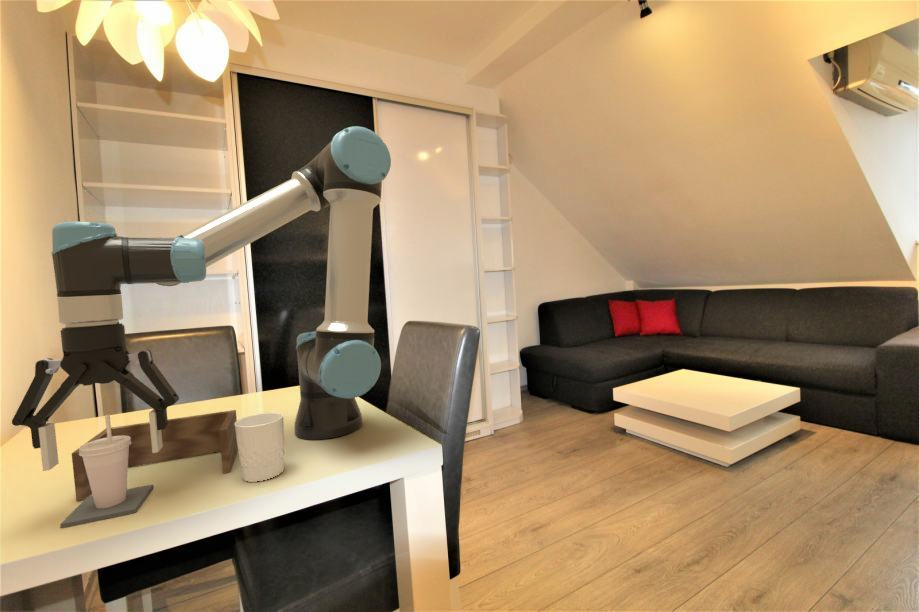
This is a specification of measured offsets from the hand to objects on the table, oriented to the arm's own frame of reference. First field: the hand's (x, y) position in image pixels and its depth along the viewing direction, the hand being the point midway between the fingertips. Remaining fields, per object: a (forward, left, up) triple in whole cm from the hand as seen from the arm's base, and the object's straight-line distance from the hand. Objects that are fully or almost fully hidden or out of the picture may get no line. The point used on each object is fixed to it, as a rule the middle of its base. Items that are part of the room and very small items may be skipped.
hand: (106, 458), depth 67 cm
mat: (0, 0, -8) cm, 8 cm away
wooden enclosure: (-5, -12, -8) cm, 15 cm away
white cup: (-22, -1, -8) cm, 23 cm away
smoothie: (0, 0, -7) cm, 7 cm away
